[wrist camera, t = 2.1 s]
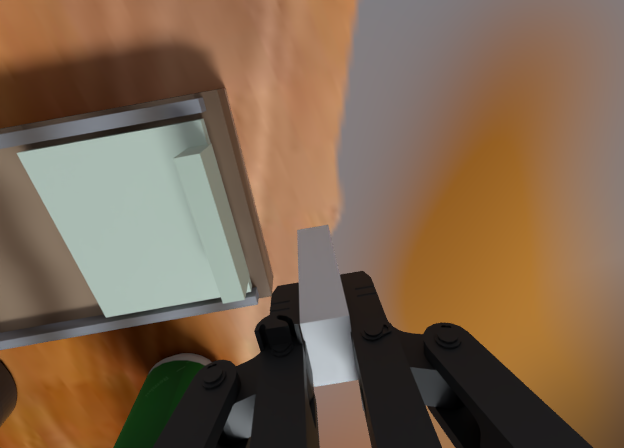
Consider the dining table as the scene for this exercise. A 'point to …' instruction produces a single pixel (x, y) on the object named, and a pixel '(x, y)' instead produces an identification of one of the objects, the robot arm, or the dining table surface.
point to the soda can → (159, 399)
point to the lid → (144, 216)
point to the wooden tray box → (53, 250)
